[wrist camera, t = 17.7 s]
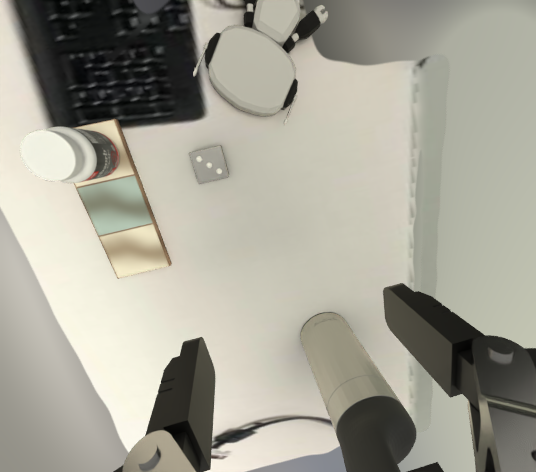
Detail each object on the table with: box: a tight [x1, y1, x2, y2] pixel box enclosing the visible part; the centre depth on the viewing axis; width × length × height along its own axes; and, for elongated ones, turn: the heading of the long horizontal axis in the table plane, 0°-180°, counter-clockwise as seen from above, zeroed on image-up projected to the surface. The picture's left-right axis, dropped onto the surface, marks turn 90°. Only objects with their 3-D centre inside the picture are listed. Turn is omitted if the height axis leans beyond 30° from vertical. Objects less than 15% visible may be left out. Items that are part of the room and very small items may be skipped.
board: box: [74, 119, 172, 279], centre depth 37 cm, size 21×8×1 cm, turn 12°
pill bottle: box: [20, 127, 119, 183], centre depth 29 cm, size 6×6×10 cm
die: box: [189, 145, 229, 184], centre depth 35 cm, size 4×4×4 cm
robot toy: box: [193, 0, 328, 125], centre depth 32 cm, size 12×4×15 cm
